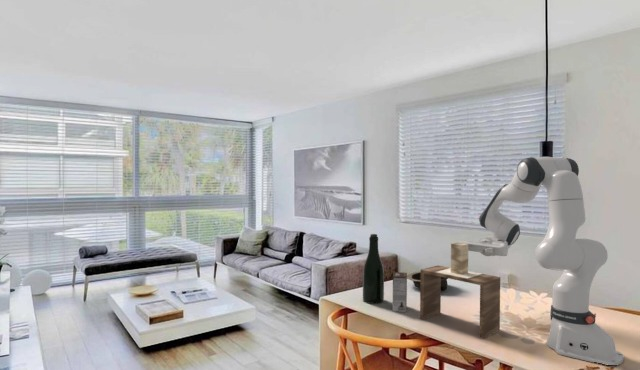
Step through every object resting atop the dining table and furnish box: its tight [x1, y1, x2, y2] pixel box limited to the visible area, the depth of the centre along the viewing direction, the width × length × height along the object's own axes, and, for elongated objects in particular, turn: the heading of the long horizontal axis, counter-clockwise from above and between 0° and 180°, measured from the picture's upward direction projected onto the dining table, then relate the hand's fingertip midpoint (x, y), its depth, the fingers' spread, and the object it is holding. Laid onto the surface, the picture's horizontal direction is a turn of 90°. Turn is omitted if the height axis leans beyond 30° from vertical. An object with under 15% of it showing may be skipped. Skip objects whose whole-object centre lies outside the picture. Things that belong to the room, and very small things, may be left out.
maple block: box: [450, 242, 469, 275], centre depth 164 cm, size 5×5×12 cm
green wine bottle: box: [362, 233, 385, 304], centre depth 195 cm, size 10×10×33 cm
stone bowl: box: [407, 270, 449, 291], centre depth 220 cm, size 25×25×9 cm
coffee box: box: [392, 271, 408, 313], centre depth 183 cm, size 9×6×16 cm
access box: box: [419, 265, 501, 339], centre depth 164 cm, size 28×14×21 cm, turn 41°
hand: (473, 249), depth 172 cm, fingers open, 8 cm apart
